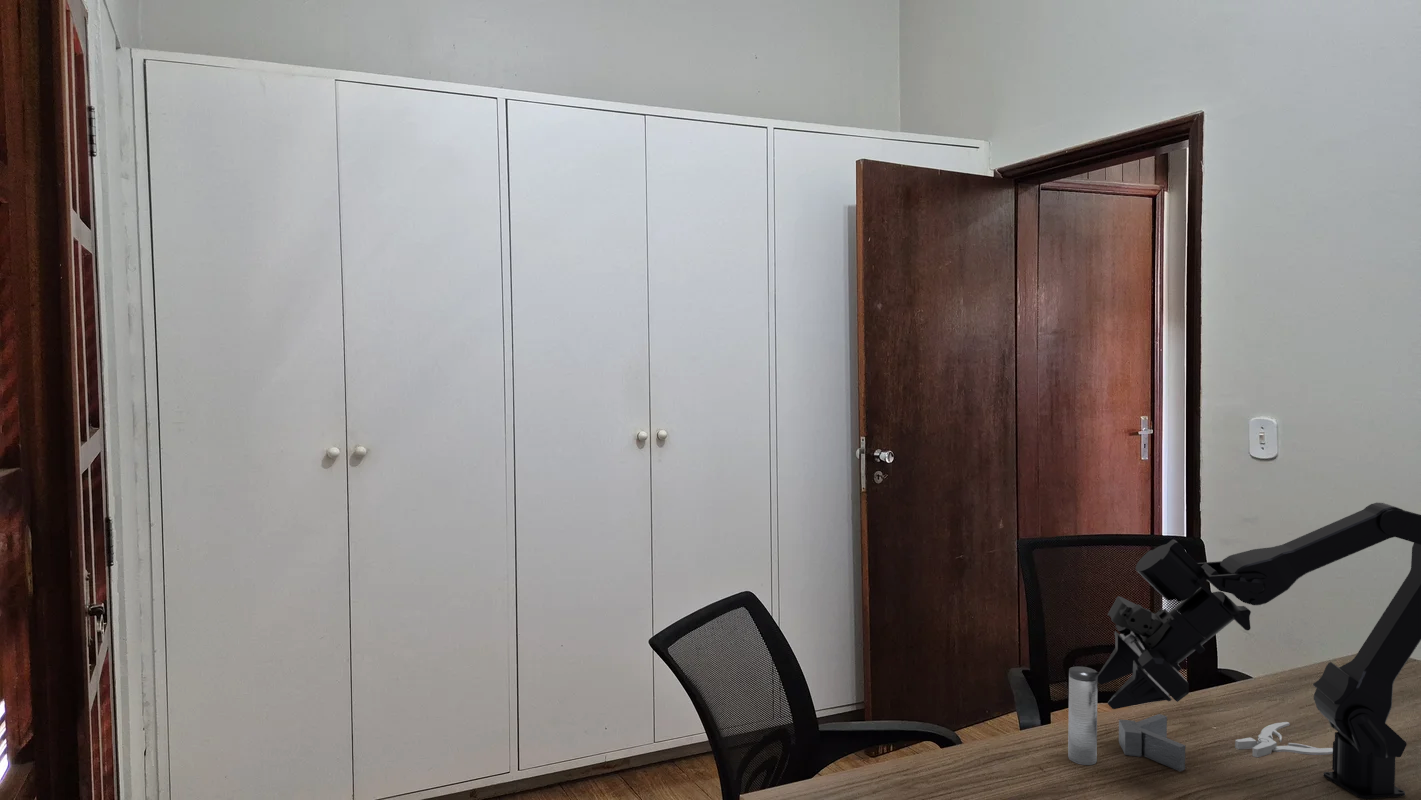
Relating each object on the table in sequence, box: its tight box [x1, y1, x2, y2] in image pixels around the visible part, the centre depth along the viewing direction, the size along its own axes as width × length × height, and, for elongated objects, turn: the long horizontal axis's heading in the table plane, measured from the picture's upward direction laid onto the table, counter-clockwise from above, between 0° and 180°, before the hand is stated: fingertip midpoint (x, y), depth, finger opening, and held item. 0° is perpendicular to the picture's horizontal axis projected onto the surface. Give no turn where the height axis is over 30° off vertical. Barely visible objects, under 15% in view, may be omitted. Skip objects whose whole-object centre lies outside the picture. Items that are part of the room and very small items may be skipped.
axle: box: [1067, 665, 1099, 766], centre depth 124 cm, size 4×4×13 cm
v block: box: [1118, 713, 1186, 772], centre depth 126 cm, size 7×12×4 cm, turn 165°
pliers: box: [1234, 721, 1333, 758], centre depth 128 cm, size 10×2×15 cm
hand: (1103, 693), depth 123 cm, fingers open, 9 cm apart
